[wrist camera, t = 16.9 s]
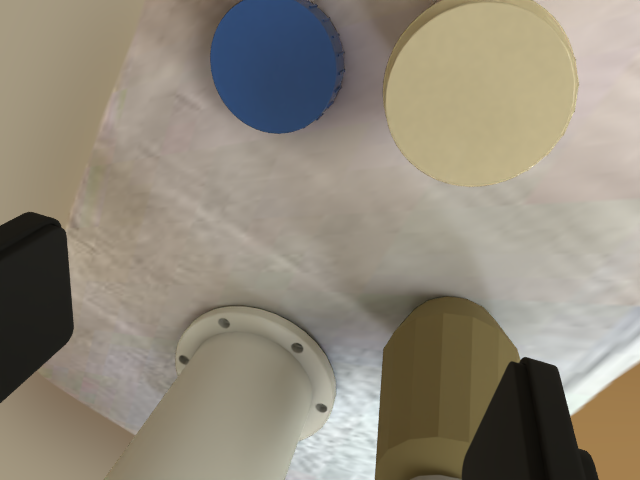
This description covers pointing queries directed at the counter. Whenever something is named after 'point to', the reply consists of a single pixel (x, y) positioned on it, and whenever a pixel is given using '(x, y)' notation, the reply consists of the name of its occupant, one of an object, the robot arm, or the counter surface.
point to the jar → (480, 89)
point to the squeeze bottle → (437, 388)
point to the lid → (277, 63)
